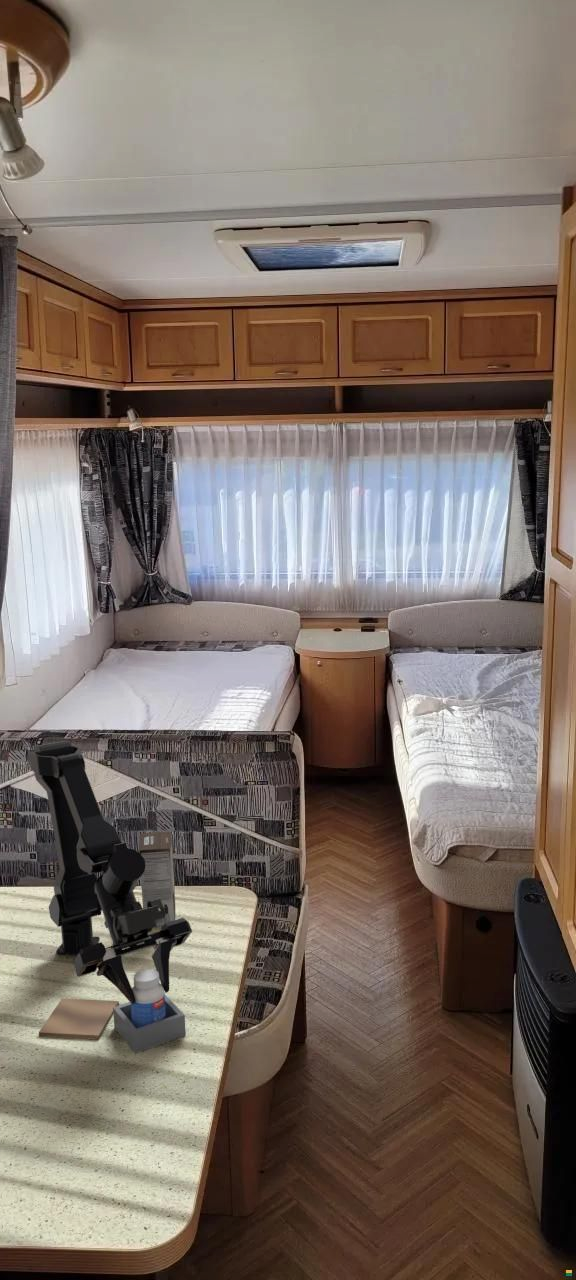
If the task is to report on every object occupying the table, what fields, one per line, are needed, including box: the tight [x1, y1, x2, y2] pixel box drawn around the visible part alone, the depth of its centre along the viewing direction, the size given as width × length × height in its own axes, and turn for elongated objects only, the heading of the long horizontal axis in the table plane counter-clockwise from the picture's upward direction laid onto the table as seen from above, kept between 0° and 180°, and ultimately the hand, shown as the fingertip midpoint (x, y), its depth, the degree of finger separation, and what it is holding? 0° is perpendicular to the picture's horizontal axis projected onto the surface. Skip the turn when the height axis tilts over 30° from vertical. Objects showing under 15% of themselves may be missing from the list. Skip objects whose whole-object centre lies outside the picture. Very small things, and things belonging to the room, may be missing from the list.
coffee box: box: [138, 831, 176, 926], centre depth 194 cm, size 9×6×16 cm
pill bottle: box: [131, 968, 166, 1029], centre depth 155 cm, size 6×5×10 cm
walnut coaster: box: [38, 997, 120, 1040], centre depth 159 cm, size 10×10×1 cm
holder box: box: [112, 993, 187, 1055], centre depth 155 cm, size 9×9×4 cm
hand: (150, 997), depth 153 cm, fingers closed on pill bottle, 5 cm apart
